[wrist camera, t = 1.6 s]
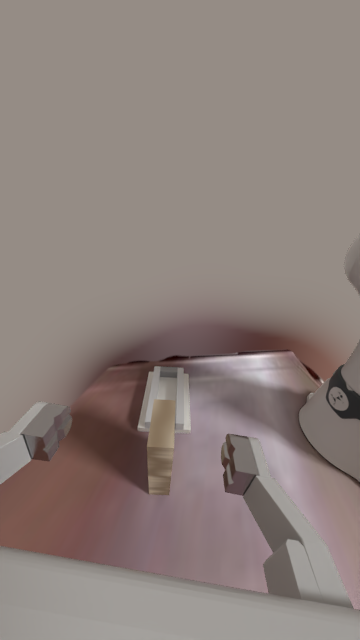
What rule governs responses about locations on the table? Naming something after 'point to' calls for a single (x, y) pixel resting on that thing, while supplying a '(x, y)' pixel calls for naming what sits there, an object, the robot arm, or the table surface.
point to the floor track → (167, 397)
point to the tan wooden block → (161, 446)
